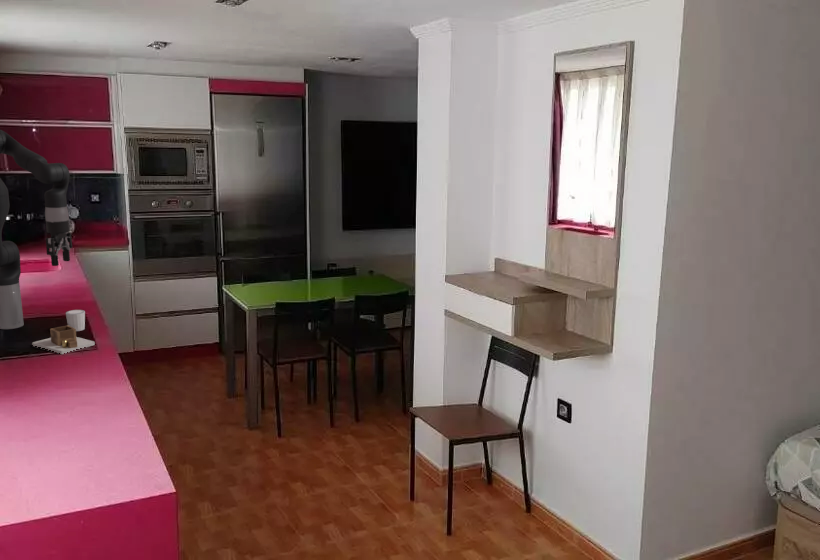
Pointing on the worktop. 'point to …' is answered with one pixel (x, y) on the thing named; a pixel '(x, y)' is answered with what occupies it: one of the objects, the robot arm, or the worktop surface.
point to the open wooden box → (64, 336)
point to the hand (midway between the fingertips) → (61, 263)
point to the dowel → (64, 343)
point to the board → (53, 347)
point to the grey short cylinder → (76, 319)
